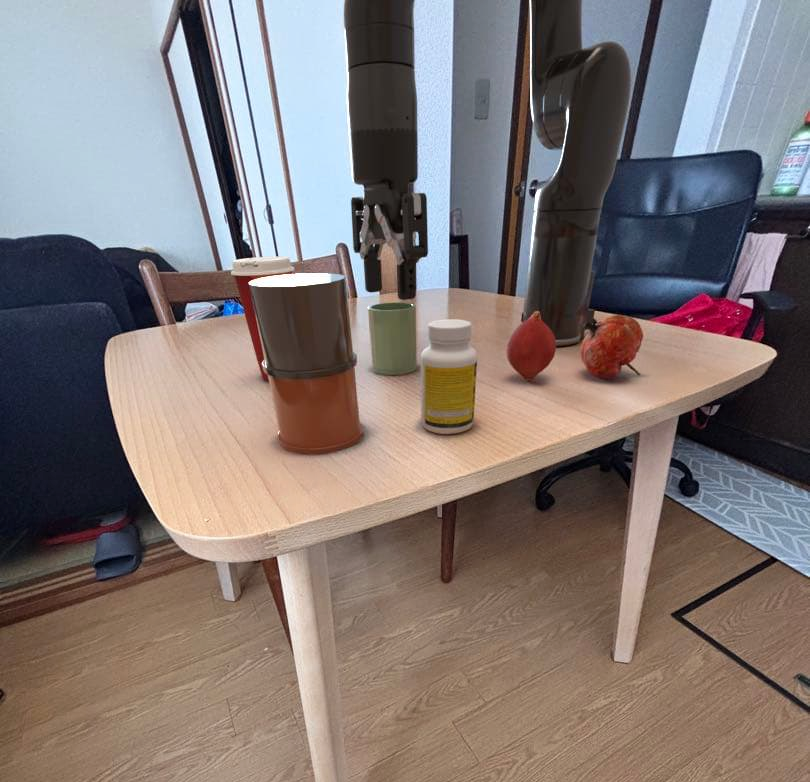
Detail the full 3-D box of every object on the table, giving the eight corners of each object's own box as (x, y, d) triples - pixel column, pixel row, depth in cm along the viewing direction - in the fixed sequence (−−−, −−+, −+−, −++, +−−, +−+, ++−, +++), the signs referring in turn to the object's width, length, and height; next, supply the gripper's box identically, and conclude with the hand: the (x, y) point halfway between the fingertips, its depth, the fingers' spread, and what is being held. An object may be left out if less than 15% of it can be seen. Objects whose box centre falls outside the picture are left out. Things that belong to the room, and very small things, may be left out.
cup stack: (341, 414, 52) (324, 270, 44) (378, 440, 46) (367, 278, 38) (267, 432, 49) (233, 280, 40) (296, 462, 42) (263, 290, 34)
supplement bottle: (482, 431, 47) (489, 325, 41) (431, 439, 46) (430, 332, 40) (461, 412, 51) (465, 315, 45) (414, 419, 50) (412, 320, 44)
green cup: (402, 360, 69) (399, 300, 65) (425, 369, 65) (424, 306, 60) (365, 367, 67) (359, 306, 62) (386, 378, 62) (382, 312, 58)
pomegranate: (615, 383, 64) (563, 335, 62) (664, 341, 59) (608, 287, 57) (618, 407, 59) (560, 356, 57) (671, 363, 54) (610, 306, 52)
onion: (495, 381, 60) (500, 312, 55) (519, 370, 63) (526, 305, 58) (536, 389, 56) (545, 317, 52) (559, 378, 60) (570, 309, 55)
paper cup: (298, 385, 61) (276, 261, 53) (244, 383, 63) (216, 263, 54) (318, 367, 67) (302, 255, 59) (269, 366, 69) (247, 256, 61)
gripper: (449, 121, 47) (445, 299, 57) (381, 138, 57) (387, 287, 67) (385, 117, 44) (392, 305, 54) (325, 136, 54) (339, 292, 64)
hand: (389, 295), depth 60 cm, fingers open, 8 cm apart
